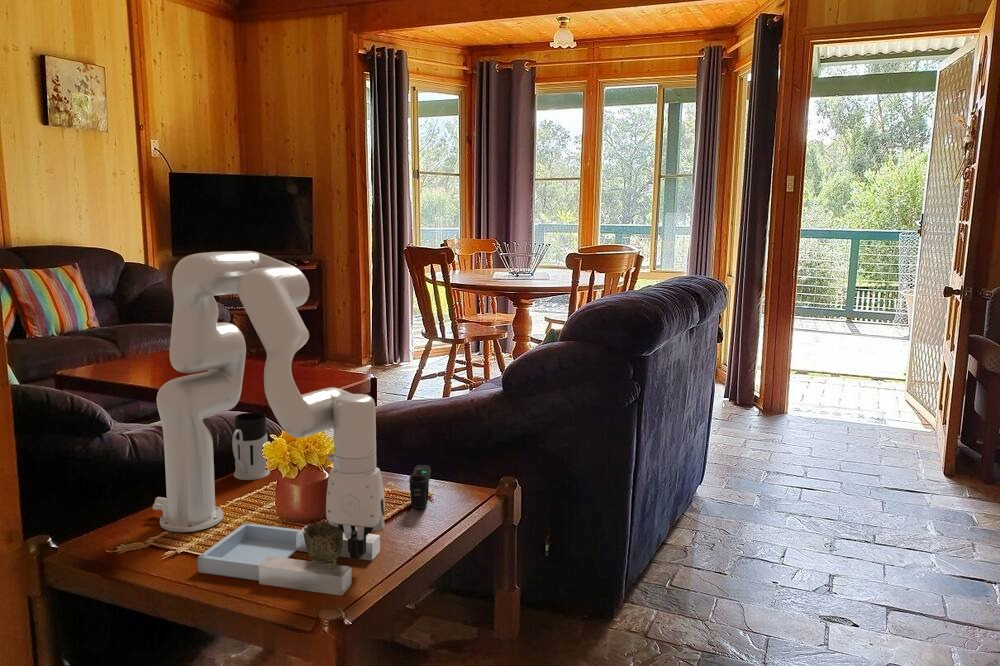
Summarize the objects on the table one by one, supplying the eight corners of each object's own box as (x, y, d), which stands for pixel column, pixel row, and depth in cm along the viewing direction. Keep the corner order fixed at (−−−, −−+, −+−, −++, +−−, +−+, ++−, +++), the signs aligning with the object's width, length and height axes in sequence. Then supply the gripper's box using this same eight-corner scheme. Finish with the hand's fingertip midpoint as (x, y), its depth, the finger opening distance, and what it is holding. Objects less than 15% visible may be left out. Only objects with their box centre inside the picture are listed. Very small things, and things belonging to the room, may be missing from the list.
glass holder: (275, 469, 195) (274, 412, 193) (252, 488, 181) (250, 428, 179) (242, 467, 196) (241, 411, 193) (217, 486, 182) (215, 426, 179)
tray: (198, 572, 139) (197, 557, 139) (245, 536, 155) (244, 522, 154) (262, 581, 137) (261, 565, 136) (303, 544, 152) (303, 530, 152)
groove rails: (259, 583, 136) (258, 565, 135) (305, 542, 153) (305, 525, 152) (342, 595, 132) (341, 577, 132) (380, 551, 150) (380, 535, 149)
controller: (407, 515, 168) (407, 472, 166) (414, 494, 180) (414, 454, 178) (426, 516, 168) (427, 473, 166) (432, 495, 180) (432, 455, 178)
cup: (312, 559, 146) (307, 520, 145) (350, 556, 146) (346, 517, 145) (303, 577, 139) (298, 536, 138) (342, 574, 139) (338, 533, 138)
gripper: (308, 465, 136) (311, 561, 138) (386, 472, 133) (388, 570, 135) (326, 453, 143) (328, 544, 146) (401, 459, 140) (402, 552, 143)
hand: (357, 556), depth 141 cm, fingers closed
